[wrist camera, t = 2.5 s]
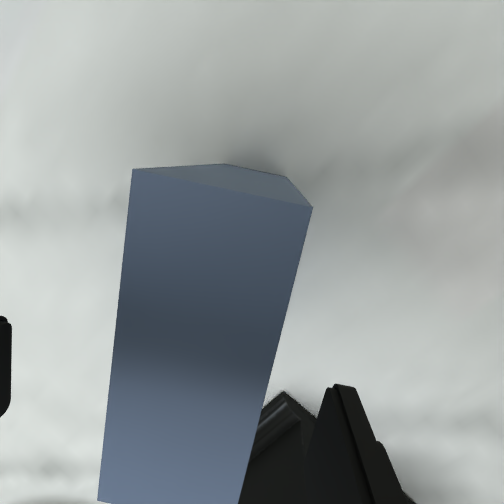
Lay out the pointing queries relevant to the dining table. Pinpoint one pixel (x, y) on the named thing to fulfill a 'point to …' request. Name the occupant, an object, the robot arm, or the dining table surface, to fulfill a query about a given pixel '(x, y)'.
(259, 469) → the black drawer cabinet
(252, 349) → the book
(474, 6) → the dining table surface
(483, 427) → the dining table surface
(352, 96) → the dining table surface
